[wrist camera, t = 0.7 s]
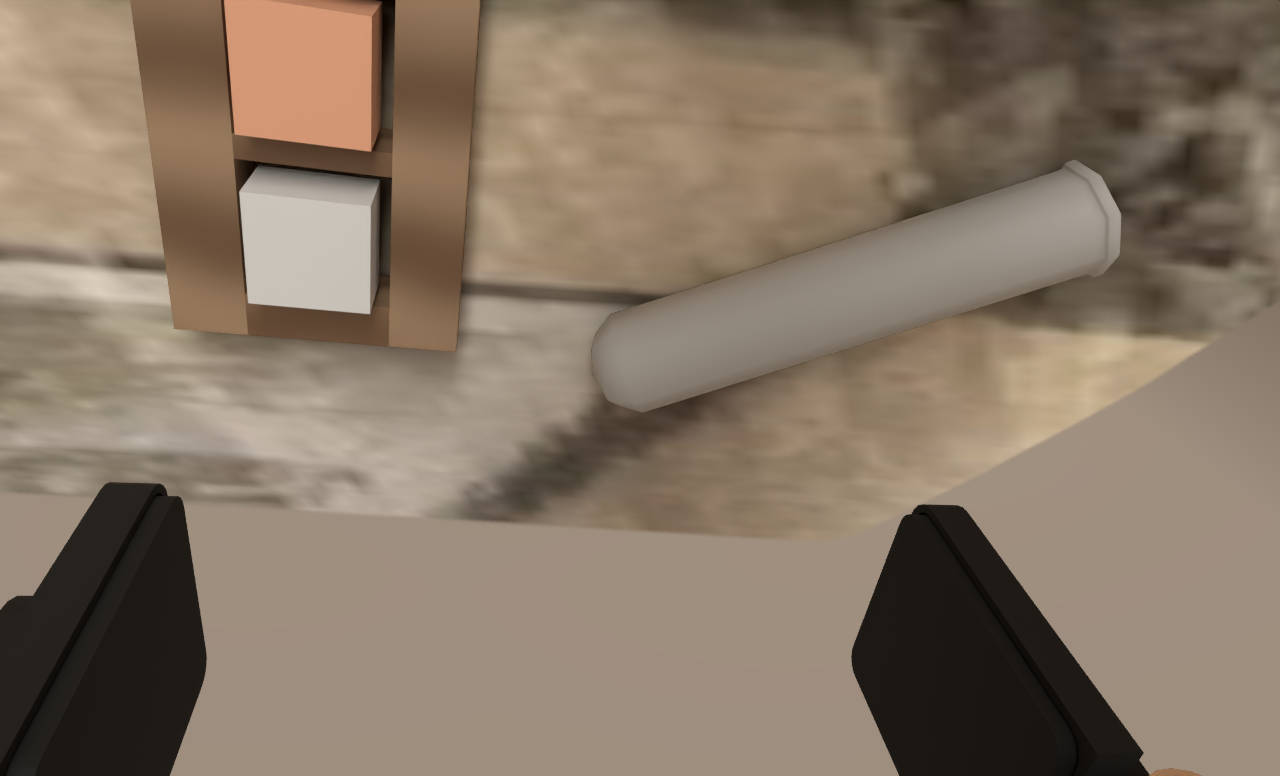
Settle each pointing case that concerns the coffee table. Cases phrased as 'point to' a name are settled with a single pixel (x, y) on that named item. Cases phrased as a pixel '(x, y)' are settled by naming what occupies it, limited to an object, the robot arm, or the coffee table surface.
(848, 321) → the tube
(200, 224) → the wooden tray
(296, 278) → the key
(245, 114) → the key mid
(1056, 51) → the coffee table surface
